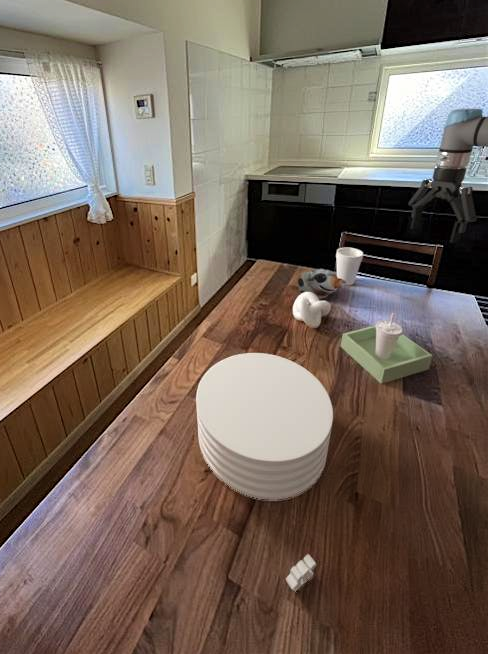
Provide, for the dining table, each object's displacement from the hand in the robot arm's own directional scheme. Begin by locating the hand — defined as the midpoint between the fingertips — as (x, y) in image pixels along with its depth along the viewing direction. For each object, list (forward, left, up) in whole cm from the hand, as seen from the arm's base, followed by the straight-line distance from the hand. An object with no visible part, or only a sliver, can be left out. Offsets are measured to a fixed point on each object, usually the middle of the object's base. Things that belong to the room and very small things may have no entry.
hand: (433, 234), depth 107 cm
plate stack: (-28, +74, -27) cm, 84 cm away
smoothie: (-17, +30, -26) cm, 43 cm away
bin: (-17, +30, -27) cm, 44 cm away
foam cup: (+23, +10, -27) cm, 37 cm away
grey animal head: (+19, +25, -27) cm, 41 cm away
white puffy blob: (+5, +38, -27) cm, 47 cm away
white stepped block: (-53, +80, -27) cm, 100 cm away
